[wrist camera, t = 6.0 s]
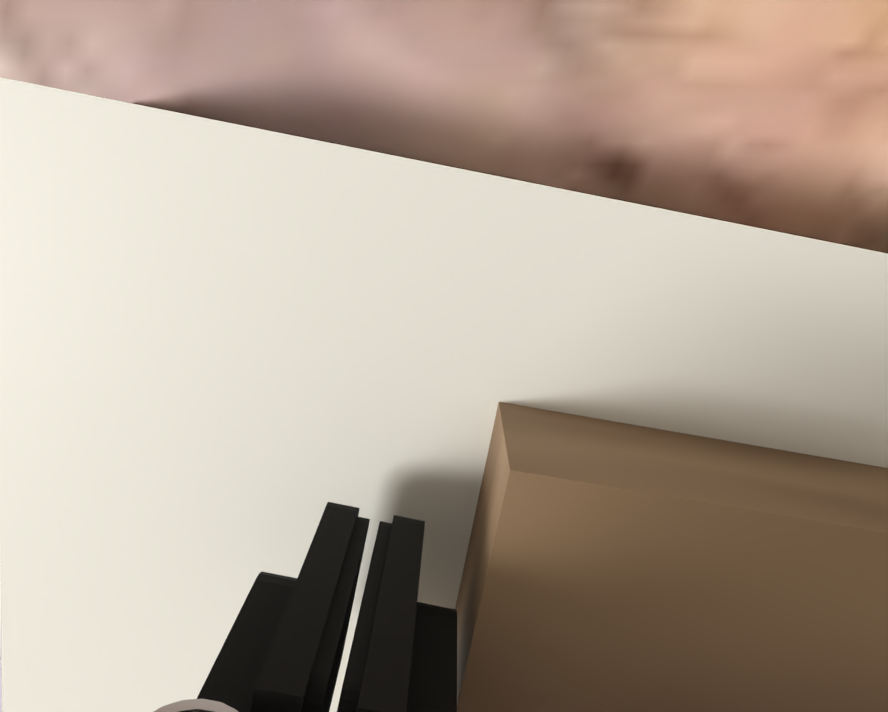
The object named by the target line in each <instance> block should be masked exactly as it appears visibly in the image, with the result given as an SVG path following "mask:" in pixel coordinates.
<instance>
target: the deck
mask: <svg viewBox="0 0 888 712" xmlns="http://www.w3.org/2000/svg"><path fill="white" fill-rule="evenodd" d="M498 402H504V403H509V404H515V405H521V406H527V407H533V408H539V409H545V410H550V411H556V412H562V413H568V414H574V415H580V416H586V417H591V418H597V419H603V420H609V421H615V422H621V423H627V424H632V425H638V426H644V427H650V428H656V429H662V430H668V431H673V432H679V433H685V434H691V435H697V436H703V437H709V438H714V439H720V440H726V441H732V442H738V443H744V444H750V445H755V446H761V447H767V448H773V449H779V450H785V451H791V452H796V453H802V454H808V455H814V456H820V457H826V458H832V459H837V460H843V461H849V462H855V463H861V464H867V465H873V466H878V467H884V468H888V253H883V252H878V251H873V250H868V249H863V248H858V247H853V246H848V245H843V244H838V243H833V242H828V241H823V240H818V239H813V238H808V237H803V236H798V235H793V234H788V233H783V232H778V231H773V230H768V229H763V228H758V227H753V226H748V225H743V224H738V223H732V222H727V221H722V220H717V219H712V218H707V217H702V216H697V215H692V214H687V213H682V212H677V211H672V210H667V209H662V208H657V207H652V206H647V205H642V204H637V203H632V202H627V201H622V200H617V199H612V198H607V197H602V196H597V195H591V194H586V193H581V192H576V191H571V190H566V189H561V188H556V187H551V186H546V185H541V184H536V183H531V182H526V181H521V180H516V179H511V178H506V177H501V176H496V175H491V174H486V173H481V172H476V171H471V170H466V169H461V168H456V167H450V166H445V165H440V164H435V163H430V162H425V161H420V160H415V159H410V158H405V157H400V156H395V155H390V154H385V153H380V152H375V151H370V150H365V149H360V148H355V147H350V146H345V145H340V144H335V143H330V142H325V141H320V140H314V139H309V138H304V137H299V136H294V135H289V134H284V133H279V132H274V131H269V130H264V129H259V128H254V127H249V126H244V125H239V124H234V123H229V122H224V121H219V120H214V119H209V118H204V117H199V116H194V115H189V114H184V113H179V112H173V111H168V110H163V109H158V108H153V107H148V106H143V105H138V104H133V103H128V102H123V101H118V100H113V99H108V98H103V97H98V96H92V95H87V94H82V93H77V92H72V91H67V90H62V89H57V88H52V87H47V86H41V85H36V84H31V83H26V82H21V81H16V80H11V79H6V78H1V77H0V619H1V698H2V712H154V711H155V710H157V709H159V708H161V707H162V706H165V705H168V704H171V703H175V702H178V701H181V700H190V699H197V697H198V695H199V693H200V691H201V689H202V687H203V685H204V683H205V681H206V679H207V677H208V675H209V673H210V671H211V668H212V666H213V664H214V662H215V660H216V658H217V656H218V654H219V652H220V650H221V648H222V646H223V644H224V642H225V640H226V638H227V636H228V634H229V632H230V630H231V628H232V626H233V624H234V622H235V620H236V618H237V616H238V614H239V612H240V610H241V608H242V606H243V604H244V602H245V600H246V598H247V596H248V594H249V592H250V590H251V588H252V586H253V584H254V582H255V580H256V578H257V576H258V574H259V573H260V572H267V573H273V574H278V575H283V576H288V577H293V578H298V575H299V573H300V570H301V568H302V565H303V563H304V560H305V558H306V555H307V553H308V550H309V548H310V545H311V543H312V540H313V538H314V535H315V532H316V530H317V527H318V525H319V522H320V520H321V517H322V515H323V512H324V510H325V507H326V505H327V503H328V502H332V503H337V504H342V505H347V506H352V507H357V508H359V515H358V517H363V518H368V519H370V522H369V527H368V532H367V537H366V542H365V547H364V552H363V557H362V562H361V567H360V572H359V576H358V581H357V586H356V591H355V596H354V601H353V606H352V611H351V616H350V621H349V626H348V631H347V636H346V641H345V646H344V650H343V655H342V660H341V664H340V669H339V673H338V677H337V681H336V685H335V689H334V694H333V698H332V702H331V706H330V710H329V712H337V708H338V704H339V699H340V695H341V690H342V685H343V681H344V677H345V672H346V668H347V663H348V659H349V655H350V650H351V646H352V641H353V637H354V632H355V628H356V624H357V619H358V615H359V610H360V606H361V602H362V597H363V593H364V588H365V584H366V579H367V575H368V571H369V566H370V562H371V557H372V553H373V549H374V544H375V540H376V535H377V531H378V527H379V522H380V521H382V522H387V523H392V521H393V517H394V515H397V516H402V517H407V518H412V519H417V520H422V521H425V528H424V538H423V548H422V558H421V568H420V578H419V588H418V599H417V602H420V603H425V604H431V605H436V606H441V607H446V608H451V609H455V606H456V602H457V597H458V592H459V587H460V583H461V578H462V573H463V568H464V564H465V559H466V554H467V549H468V545H469V540H470V535H471V530H472V526H473V521H474V516H475V511H476V507H477V502H478V497H479V492H480V488H481V483H482V478H483V473H484V469H485V464H486V459H487V454H488V450H489V445H490V440H491V435H492V431H493V426H494V421H495V416H496V412H497V407H498Z"/></svg>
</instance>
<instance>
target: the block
mask: <svg viewBox="0 0 888 712" xmlns="http://www.w3.org/2000/svg"><path fill="white" fill-rule="evenodd" d="M455 609H456V611H457V712H888V468H884V467H878V466H873V465H867V464H861V463H855V462H849V461H843V460H837V459H832V458H826V457H820V456H814V455H808V454H802V453H796V452H791V451H785V450H779V449H773V448H767V447H761V446H755V445H750V444H744V443H738V442H732V441H726V440H720V439H714V438H709V437H703V436H697V435H691V434H685V433H679V432H673V431H668V430H662V429H656V428H650V427H644V426H638V425H632V424H627V423H621V422H615V421H609V420H603V419H597V418H591V417H586V416H580V415H574V414H568V413H562V412H556V411H550V410H545V409H539V408H533V407H527V406H521V405H515V404H509V403H504V402H498V407H497V412H496V416H495V421H494V426H493V431H492V435H491V440H490V445H489V450H488V454H487V459H486V464H485V469H484V473H483V478H482V483H481V488H480V492H479V497H478V502H477V507H476V511H475V516H474V521H473V526H472V530H471V535H470V540H469V545H468V549H467V554H466V559H465V564H464V568H463V573H462V578H461V583H460V587H459V592H458V597H457V602H456V606H455Z"/></svg>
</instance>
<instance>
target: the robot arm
mask: <svg viewBox="0 0 888 712" xmlns="http://www.w3.org/2000/svg"><path fill="white" fill-rule="evenodd" d="M358 515H359V508H357V507H352V506H347V505H342V504H337V503H332V502H328V503H327V505H326V507H325V510H324V512H323V515H322V517H321V520H320V522H319V525H318V527H317V530H316V532H315V535H314V538H313V540H312V543H311V545H310V548H309V550H308V553H307V555H306V558H305V560H304V563H303V565H302V568H301V570H300V573H299V575H298V578H293V577H288V576H283V575H278V574H273V573H267V572H260V573H259V574H258V576H257V578H256V580H255V582H254V584H253V586H252V588H251V590H250V592H249V594H248V596H247V598H246V600H245V602H244V604H243V606H242V608H241V610H240V612H239V614H238V616H237V618H236V620H235V622H234V624H233V626H232V628H231V630H230V632H229V634H228V636H227V638H226V640H225V642H224V644H223V646H222V648H221V650H220V652H219V654H218V656H217V658H216V660H215V662H214V664H213V666H212V668H211V671H210V673H209V675H208V677H207V679H206V681H205V683H204V685H203V687H202V689H201V691H200V693H199V695H198V697H197V699H190V700H181V701H178V702H175V703H171V704H168V705H165V706H162V707H161V708H159V709H157V710H155V711H154V712H329V710H330V706H331V702H332V698H333V694H334V689H335V685H336V681H337V677H338V673H339V669H340V664H341V660H342V655H343V650H344V646H345V641H346V636H347V631H348V626H349V621H350V616H351V611H352V606H353V601H354V596H355V591H356V586H357V581H358V576H359V572H360V567H361V562H362V557H363V552H364V547H365V542H366V537H367V532H368V527H369V522H370V519H368V518H363V517H358ZM424 528H425V521H422V520H417V519H412V518H407V517H402V516H397V515H394V517H393V521H392V523H387V522H382V521H380V522H379V527H378V531H377V535H376V540H375V544H374V549H373V553H372V557H371V562H370V566H369V571H368V575H367V579H366V584H365V588H364V593H363V597H362V602H361V606H360V610H359V615H358V619H357V624H356V628H355V632H354V637H353V641H352V646H351V650H350V655H349V659H348V663H347V668H346V672H345V677H344V681H343V685H342V690H341V695H340V699H339V704H338V708H337V712H457V611H456V609H451V608H446V607H441V606H436V605H431V604H425V603H420V602H417V599H418V588H419V578H420V568H421V558H422V548H423V538H424Z"/></svg>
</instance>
